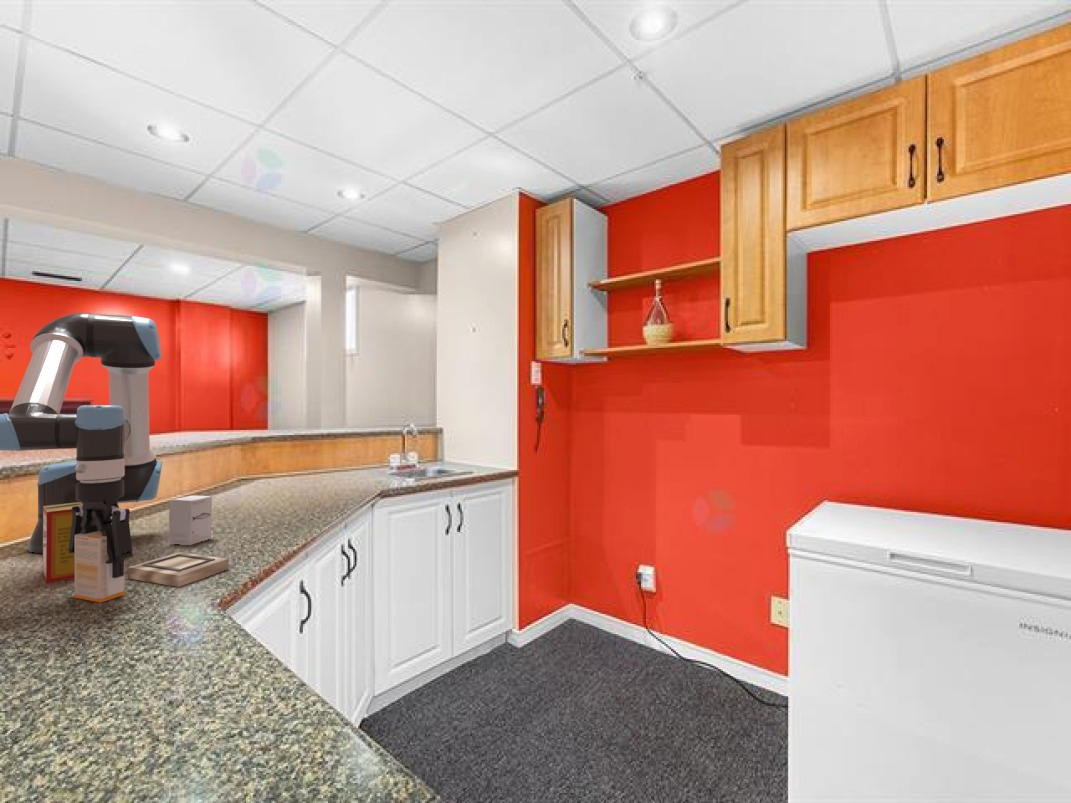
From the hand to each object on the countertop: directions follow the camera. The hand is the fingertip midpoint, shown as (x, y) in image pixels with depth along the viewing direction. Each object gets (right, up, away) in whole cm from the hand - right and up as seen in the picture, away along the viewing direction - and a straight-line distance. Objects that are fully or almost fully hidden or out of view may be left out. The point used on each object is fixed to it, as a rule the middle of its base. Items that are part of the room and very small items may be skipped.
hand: (100, 590), depth 102 cm
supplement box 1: (0, -1, 0) cm, 1 cm away
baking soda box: (-20, -1, +13) cm, 24 cm away
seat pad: (+7, -1, +14) cm, 15 cm away
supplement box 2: (-9, -1, +40) cm, 41 cm away
